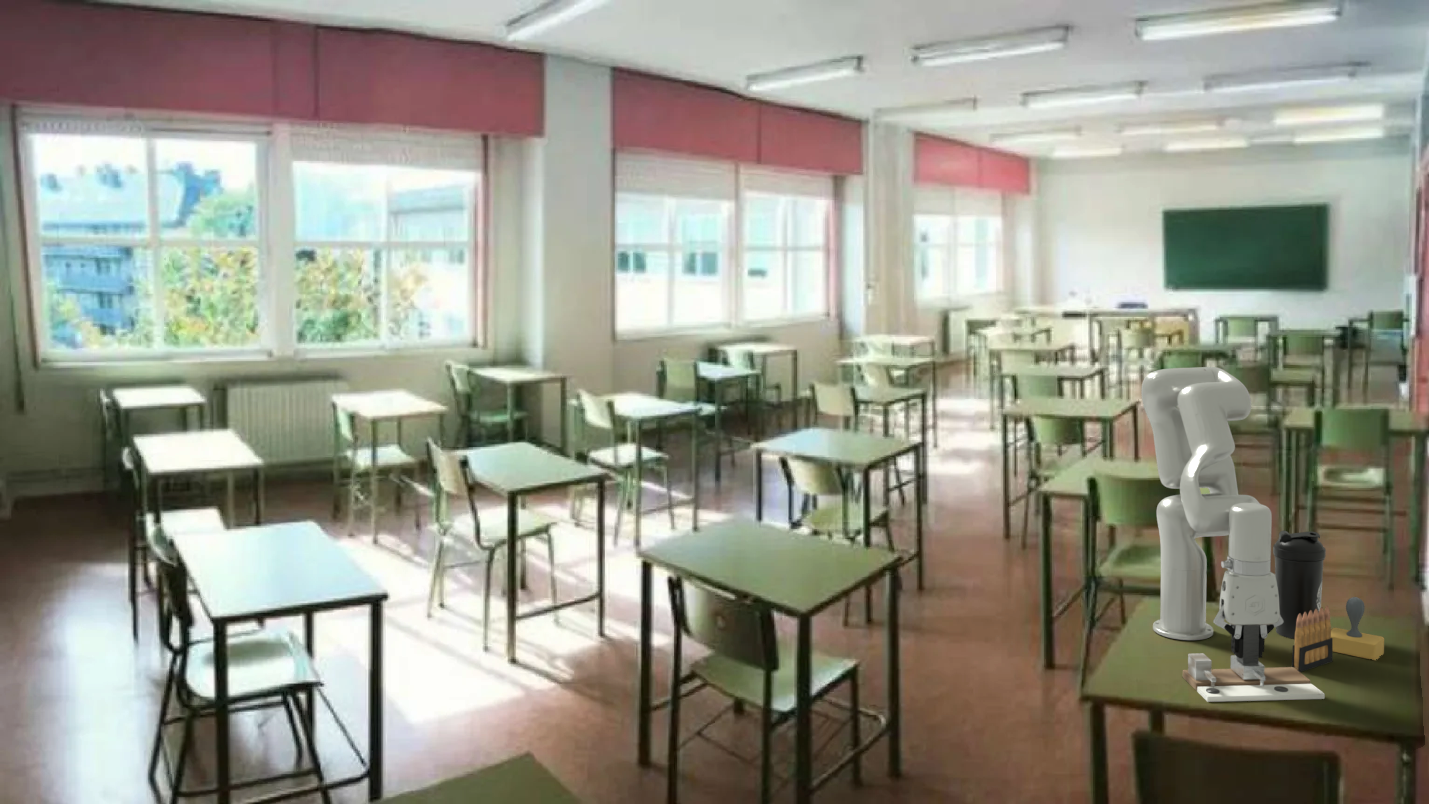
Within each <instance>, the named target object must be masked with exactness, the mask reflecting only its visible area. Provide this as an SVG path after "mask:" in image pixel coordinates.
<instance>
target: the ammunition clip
mask: <svg viewBox="0 0 1429 804" xmlns="http://www.w3.org/2000/svg"><path fill="white" fill-rule="evenodd" d="M1331 629H1332V625H1331V612H1330V608H1329V605H1326V606H1325V608H1323V607H1322V606H1321V607H1320V610H1319V614H1318V610H1317V609H1315V611H1314V614H1313V613H1312V611H1311V610H1310V611H1309V614H1308V616H1307V613H1306V612H1304V614H1303V617H1302V616H1301V614H1300V613H1299V615H1298V617H1297V622H1296V631H1295V639H1294V644H1293V645H1292V654H1291V655H1292V656H1291V667H1294V668H1295V669H1296V670H1298V671H1299V672H1300V673H1302V672H1305V671H1308V670H1311V669H1314V668H1317V667H1319V666H1323V665H1327V664H1328V663H1332V662H1333V661H1334V660H1333V656H1334V655H1333V653H1334V652H1333V638H1331Z"/></svg>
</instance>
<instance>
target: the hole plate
mask: <svg viewBox="0 0 1429 804" xmlns="http://www.w3.org/2000/svg"><path fill="white" fill-rule="evenodd" d="M1196 692H1197V693H1198V694H1199V695H1200V696H1201V697H1202V698H1203V699H1204V700H1205V701H1206V702H1207V703H1209V702H1210V703H1211V702H1212V703H1213V702H1214V703H1215V702H1247V701H1248V702H1251V701H1252V702H1253V701H1257V702H1258V701H1284V700H1285V701H1286V700H1287V701H1290V700H1322V699H1323V700H1324V699H1325V697H1326V696H1325V693H1324V692H1323V691H1322V690H1321V689H1320V688H1318V687H1316V686H1315V685H1314V684H1313V683H1310V684H1281V685H1264V686H1260V685H1243V686H1215V687H1214V688H1212V687H1211V686H1205V687H1197V691H1196Z"/></svg>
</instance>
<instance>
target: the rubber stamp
mask: <svg viewBox="0 0 1429 804" xmlns="http://www.w3.org/2000/svg"><path fill="white" fill-rule="evenodd" d="M1365 607H1366V606H1365V603H1364V600H1362V599H1361V598H1359V597H1357V596H1352V597H1350V598H1349V599H1347V601H1346V603H1345V611H1346V613H1347V616H1348V617H1347V618H1349V622H1350V627H1351V628H1350V629H1345V628H1339V627H1331V638H1333V653H1337V654H1343V655H1347V656H1352V657H1355V658H1361V659H1365V660H1370V659H1372V660H1371V661H1377V660H1378V659H1380V657H1379V656H1381V655H1382V656H1383V655H1384V654H1385V637H1383V636H1380V635H1375V634H1370V633H1365V632H1360V631H1359V624H1360V622H1361V620H1362V619H1363V618H1362V617H1363V616H1364V613H1365V609H1366V608H1365ZM1382 656H1381V657H1382ZM1376 659H1377V660H1376Z"/></svg>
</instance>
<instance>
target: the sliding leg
mask: <svg viewBox="0 0 1429 804" xmlns="http://www.w3.org/2000/svg"><path fill="white" fill-rule="evenodd" d="M1241 638H1242V639H1243V658H1238V657H1237V656H1236V655H1235V654H1234V655H1230V669H1232V670H1233V671H1234V672H1235V673H1237V674H1238V675H1239V676H1240V677H1241V678H1242V679H1243V680H1247V679H1260V686H1264V681H1265V676H1264V668H1265V665H1264V664H1263V663H1262V662H1260V661H1259V625H1242V630H1241Z"/></svg>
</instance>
